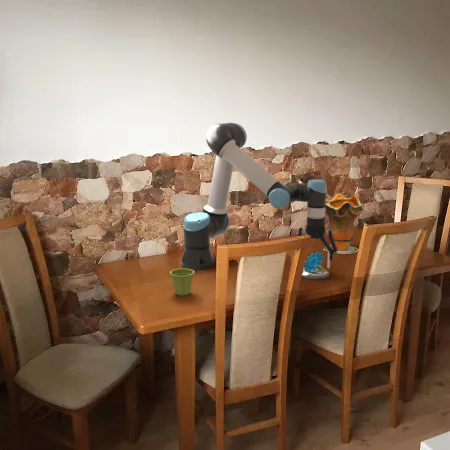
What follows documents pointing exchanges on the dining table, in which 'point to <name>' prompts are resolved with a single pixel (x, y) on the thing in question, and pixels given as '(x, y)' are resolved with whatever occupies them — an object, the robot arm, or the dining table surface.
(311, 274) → the plate
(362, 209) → the decorative vase
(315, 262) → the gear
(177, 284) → the plant pot
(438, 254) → the dining table surface
